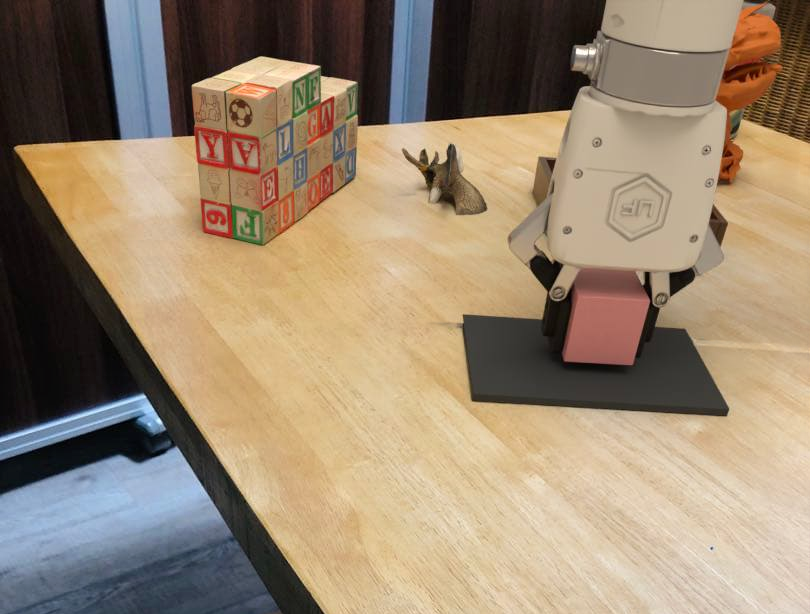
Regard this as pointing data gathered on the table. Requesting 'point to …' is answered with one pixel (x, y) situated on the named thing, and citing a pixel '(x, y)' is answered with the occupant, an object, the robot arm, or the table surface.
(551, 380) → the mat
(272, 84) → the stack of blocks
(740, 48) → the toy dinosaur
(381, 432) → the table surface
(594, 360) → the pink block
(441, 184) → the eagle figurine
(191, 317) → the table surface
